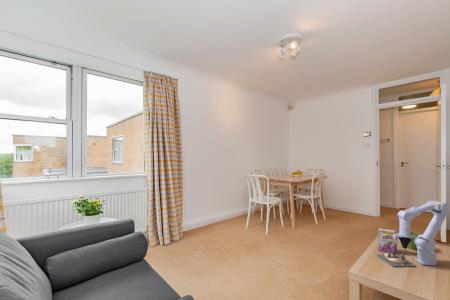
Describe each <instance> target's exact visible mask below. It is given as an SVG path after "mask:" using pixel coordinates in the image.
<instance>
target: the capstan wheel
mask: <svg viewBox="0 0 450 300" xmlns="http://www.w3.org/2000/svg"><path fill="white" fill-rule="evenodd" d="M384 255H385V258H386V259H387V260H389V261H391V262H394V263H398V264H405V263H406V260H407V258H406V256H405V253H403V252H401V254H398V253H397V254H395V249H394V248H392V253H391V252H390V251H388V252H384Z"/></svg>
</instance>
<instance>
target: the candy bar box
mask: <svg viewBox="0 0 450 300" xmlns="http://www.w3.org/2000/svg"><path fill="white" fill-rule="evenodd" d="M393 234H398V233H397V231H396V230H394V229H386V228H380V227H379V228H378V238H377V239H378V251H380V252H384V253H388V251H390V252H391V253H392V248H394V249H395V254H398V253H397V251H398V247H397V245H398V238H394V237H393Z"/></svg>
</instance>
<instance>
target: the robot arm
mask: <svg viewBox="0 0 450 300" xmlns="http://www.w3.org/2000/svg"><path fill="white" fill-rule="evenodd" d="M427 211H430V212H431V213H432V214H433V217H432V219H430V221H429V224H428V225H427V227H426V229H425V231H424V232H423V233H422V234H420V235H419V236H418V237H417V238H416V235H412V234H410V232H411V221H413V219H414V218H415V217H419V216H420V215H422V213H423V212H427ZM449 212H450V205H449V204H448V203H447V202H441V201H436V200H433V199H430V200H428V201H426V203H424V204H422V205H420V206H417V207H416V206H412V207H410V208H406V209H405V210H399V211H398V213H397V214H396V215H397V217H398V221H399V228H398V229H399V232H398V233H397V234H393V237H394V238H397V239H398V240H399V241H400V245H401V248H403V249H405V250H407V249H408V248H407V246H408V244H409V243H410V241H411V239H410V238H416V239H415V240H414V244H415V245H416V247H417V250H416V251H417V258H413V259H414V261H415V262H418V263H420V264H422V265H424V266H438V265H439V264H438V263H437V253H436V251H435V249H436V245H437V242H436V240H435V237H436V235H437V234H438V232H439V230H440V228H441V227H442V225H443V223H444V221H445V219H446V217H447V215H448V214H449Z"/></svg>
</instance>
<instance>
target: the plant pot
mask: <svg viewBox="0 0 450 300" xmlns="http://www.w3.org/2000/svg"><path fill="white" fill-rule="evenodd" d="M410 234H412V235H416V238H417V237H418V236H419V235H421V234H420V233H418V232H413V231H410ZM416 238H410V239H411V241H410V243H409V244H408V246H407V249H409V250H413V251H417V247H416V245H415V244H414V240H415V239H416Z"/></svg>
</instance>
